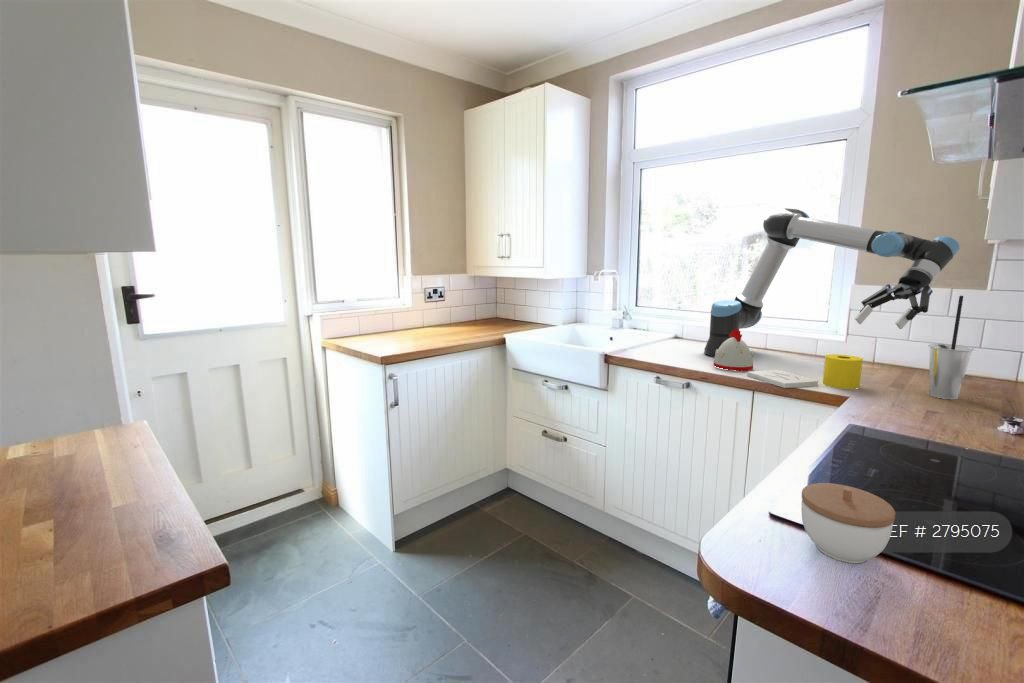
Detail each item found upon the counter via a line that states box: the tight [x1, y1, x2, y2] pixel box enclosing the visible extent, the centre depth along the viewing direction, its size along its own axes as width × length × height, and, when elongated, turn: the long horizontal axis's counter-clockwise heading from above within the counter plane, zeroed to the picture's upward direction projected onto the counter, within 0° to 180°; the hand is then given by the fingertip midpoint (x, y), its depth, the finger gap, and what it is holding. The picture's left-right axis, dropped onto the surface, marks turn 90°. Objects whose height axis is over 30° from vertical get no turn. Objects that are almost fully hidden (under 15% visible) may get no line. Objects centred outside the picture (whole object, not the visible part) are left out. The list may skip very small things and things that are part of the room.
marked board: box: [747, 369, 819, 389], centre depth 161 cm, size 17×13×2 cm
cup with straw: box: [927, 295, 975, 401], centre depth 139 cm, size 11×11×30 cm
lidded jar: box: [801, 482, 896, 565], centre depth 66 cm, size 11×11×9 cm
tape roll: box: [822, 353, 863, 390], centre depth 154 cm, size 10×10×9 cm
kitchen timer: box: [713, 329, 754, 372], centre depth 181 cm, size 14×14×15 cm
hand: (877, 323), depth 154 cm, fingers open, 13 cm apart
